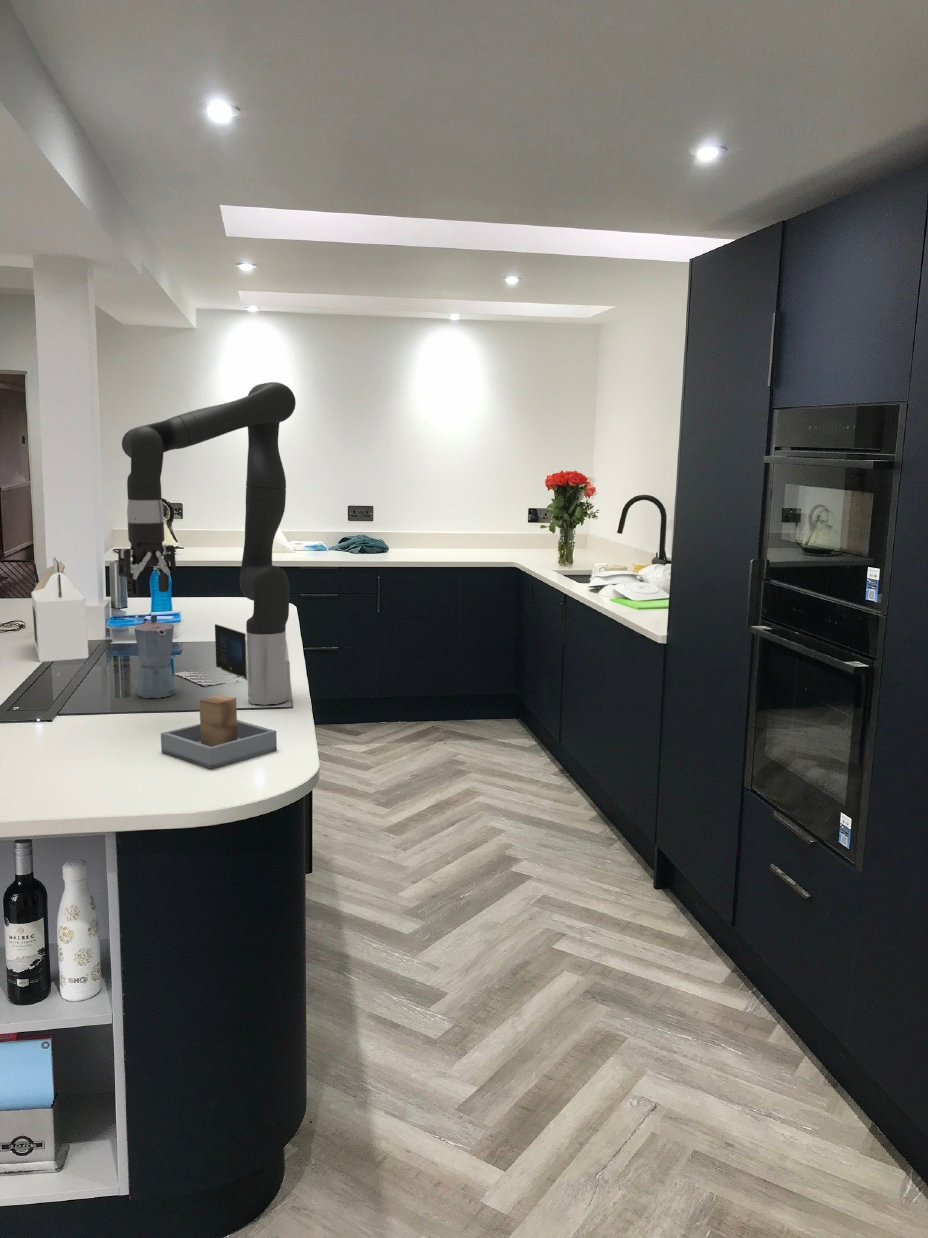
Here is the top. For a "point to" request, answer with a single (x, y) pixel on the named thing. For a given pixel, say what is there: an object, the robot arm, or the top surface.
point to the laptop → (227, 654)
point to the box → (246, 746)
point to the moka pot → (155, 658)
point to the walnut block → (218, 720)
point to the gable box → (59, 617)
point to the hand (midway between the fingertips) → (148, 593)
